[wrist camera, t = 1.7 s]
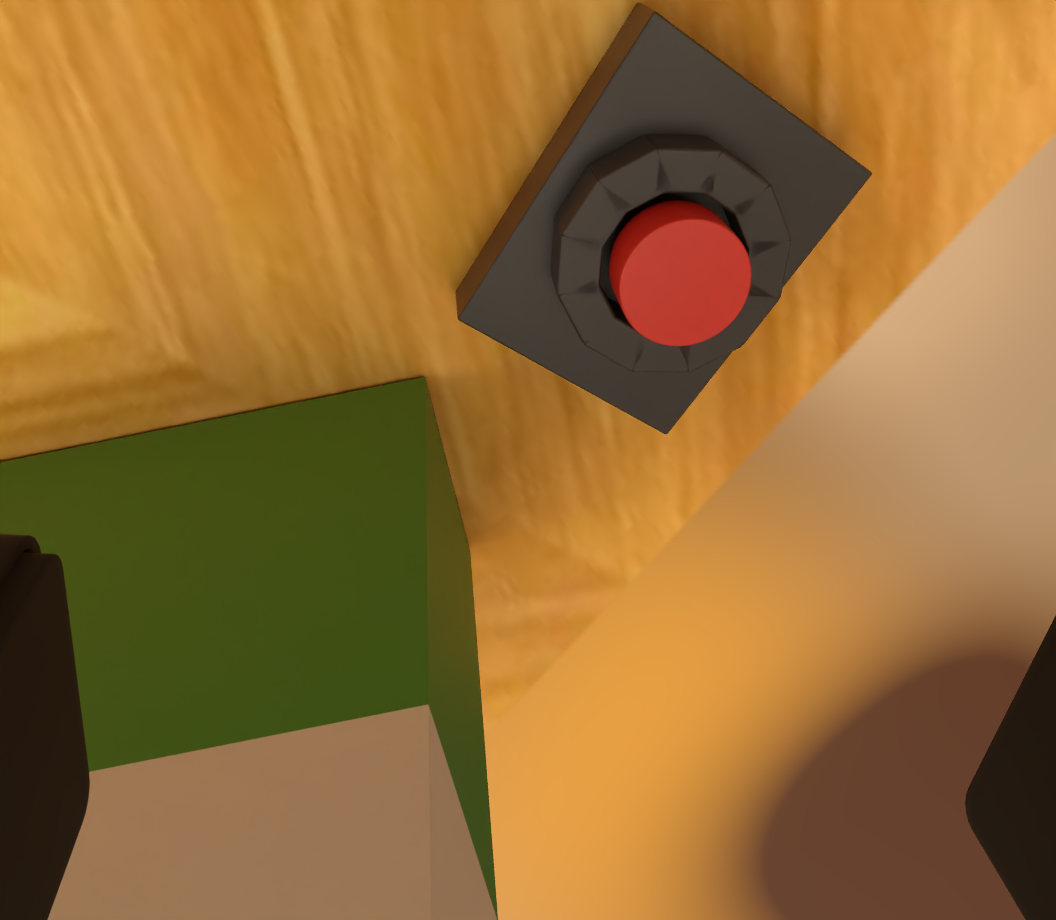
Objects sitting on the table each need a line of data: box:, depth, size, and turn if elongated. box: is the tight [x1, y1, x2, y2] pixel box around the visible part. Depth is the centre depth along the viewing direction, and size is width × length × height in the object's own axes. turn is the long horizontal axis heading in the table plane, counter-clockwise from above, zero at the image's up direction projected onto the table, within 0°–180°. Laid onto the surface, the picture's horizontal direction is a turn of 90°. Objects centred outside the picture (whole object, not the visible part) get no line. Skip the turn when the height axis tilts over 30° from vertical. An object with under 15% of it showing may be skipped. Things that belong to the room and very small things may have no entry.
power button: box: [609, 200, 751, 346], centre depth 27 cm, size 4×4×2 cm
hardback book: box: [0, 377, 498, 920], centre depth 24 cm, size 18×7×24 cm, turn 100°
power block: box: [456, 3, 872, 434], centre depth 29 cm, size 10×8×4 cm
